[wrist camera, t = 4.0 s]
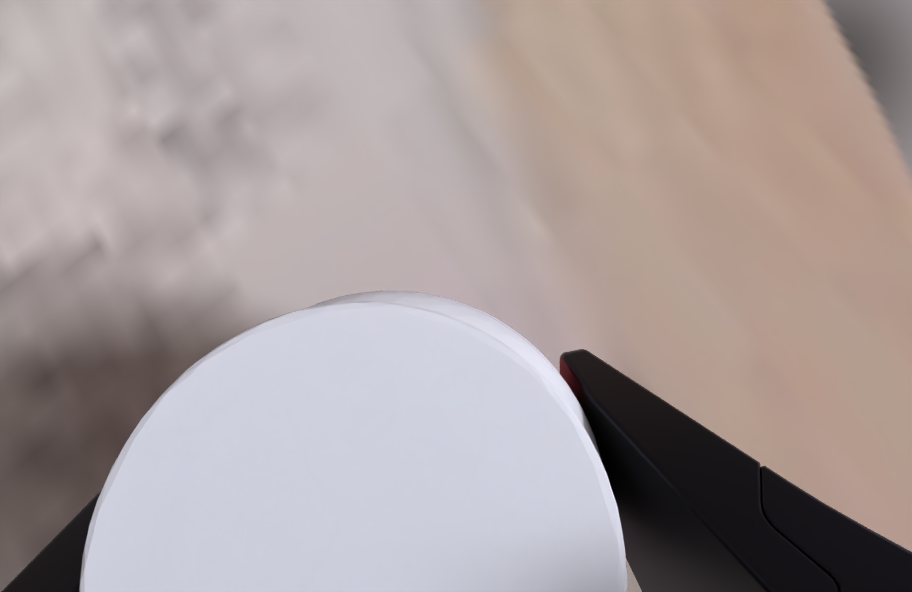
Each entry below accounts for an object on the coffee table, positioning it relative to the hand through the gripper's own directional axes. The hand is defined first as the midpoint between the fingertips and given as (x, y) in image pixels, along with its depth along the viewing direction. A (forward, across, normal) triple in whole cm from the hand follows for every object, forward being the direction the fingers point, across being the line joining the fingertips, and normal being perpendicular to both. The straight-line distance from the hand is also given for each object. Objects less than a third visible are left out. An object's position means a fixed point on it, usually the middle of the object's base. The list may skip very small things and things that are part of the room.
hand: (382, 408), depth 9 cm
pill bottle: (+4, 0, +6) cm, 7 cm away
